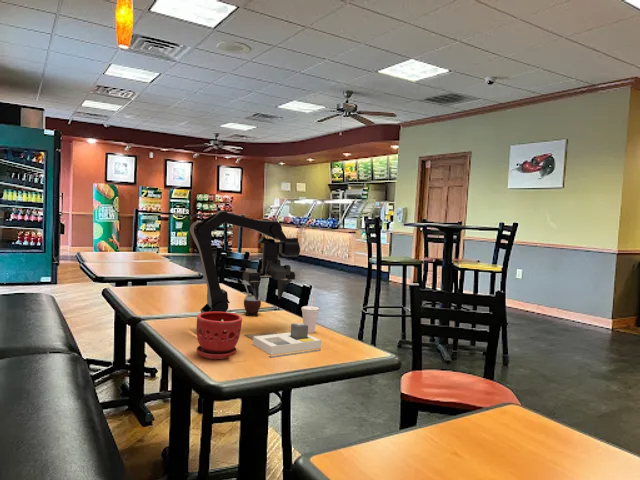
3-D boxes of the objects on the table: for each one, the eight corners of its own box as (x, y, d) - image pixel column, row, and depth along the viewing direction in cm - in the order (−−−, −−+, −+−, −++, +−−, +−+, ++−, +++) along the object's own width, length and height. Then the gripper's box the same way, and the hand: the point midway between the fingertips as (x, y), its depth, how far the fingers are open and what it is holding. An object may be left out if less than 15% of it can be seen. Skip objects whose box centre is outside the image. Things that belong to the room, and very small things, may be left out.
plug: (296, 348, 151) (297, 325, 150) (290, 345, 154) (291, 323, 154) (307, 347, 153) (308, 324, 153) (300, 343, 156) (301, 322, 156)
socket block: (270, 358, 141) (271, 345, 141) (252, 347, 151) (253, 335, 151) (320, 351, 151) (321, 339, 151) (300, 341, 161) (301, 330, 161)
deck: (254, 344, 154) (254, 341, 154) (242, 337, 161) (242, 334, 161) (286, 340, 161) (286, 337, 161) (273, 334, 168) (273, 331, 168)
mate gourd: (263, 315, 198) (265, 279, 197) (251, 318, 191) (253, 281, 191) (249, 312, 202) (251, 277, 201) (237, 315, 195) (239, 279, 195)
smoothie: (315, 337, 168) (317, 298, 167) (298, 335, 169) (300, 296, 168) (319, 333, 174) (321, 295, 173) (302, 331, 175) (304, 293, 174)
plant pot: (201, 364, 132) (203, 321, 132) (190, 350, 144) (192, 311, 143) (246, 359, 138) (248, 319, 138) (232, 347, 150) (234, 309, 149)
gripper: (257, 258, 157) (255, 305, 158) (304, 258, 168) (302, 302, 169) (242, 255, 166) (240, 299, 167) (288, 255, 177) (286, 296, 178)
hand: (268, 299), depth 170 cm, fingers open, 9 cm apart
